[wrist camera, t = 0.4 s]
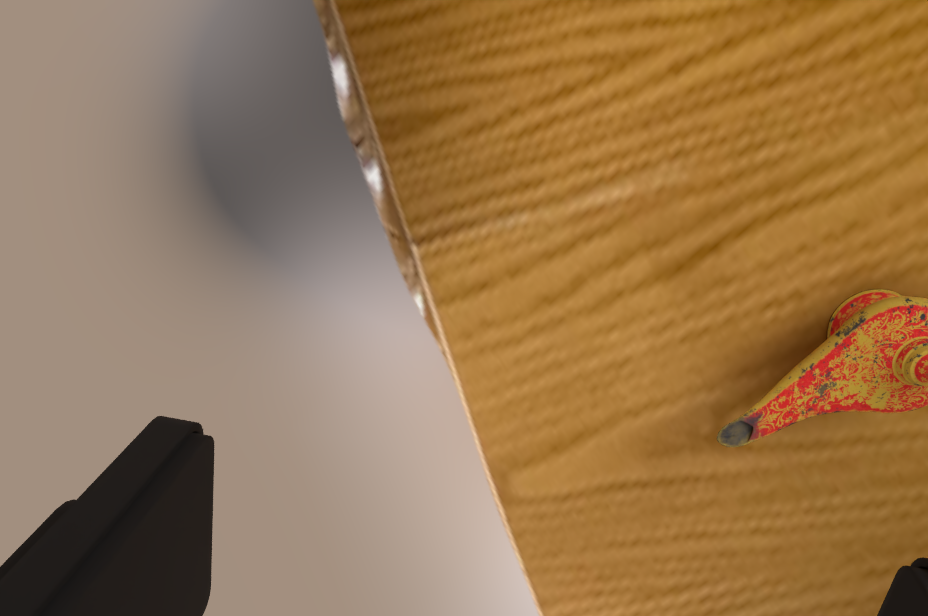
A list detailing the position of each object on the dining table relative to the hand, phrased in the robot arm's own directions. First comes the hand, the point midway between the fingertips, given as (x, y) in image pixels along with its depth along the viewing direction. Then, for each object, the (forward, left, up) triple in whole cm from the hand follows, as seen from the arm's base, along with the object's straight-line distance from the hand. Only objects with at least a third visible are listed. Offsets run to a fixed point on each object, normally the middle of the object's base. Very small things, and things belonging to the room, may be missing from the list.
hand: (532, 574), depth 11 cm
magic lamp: (+18, +11, -37) cm, 42 cm away
